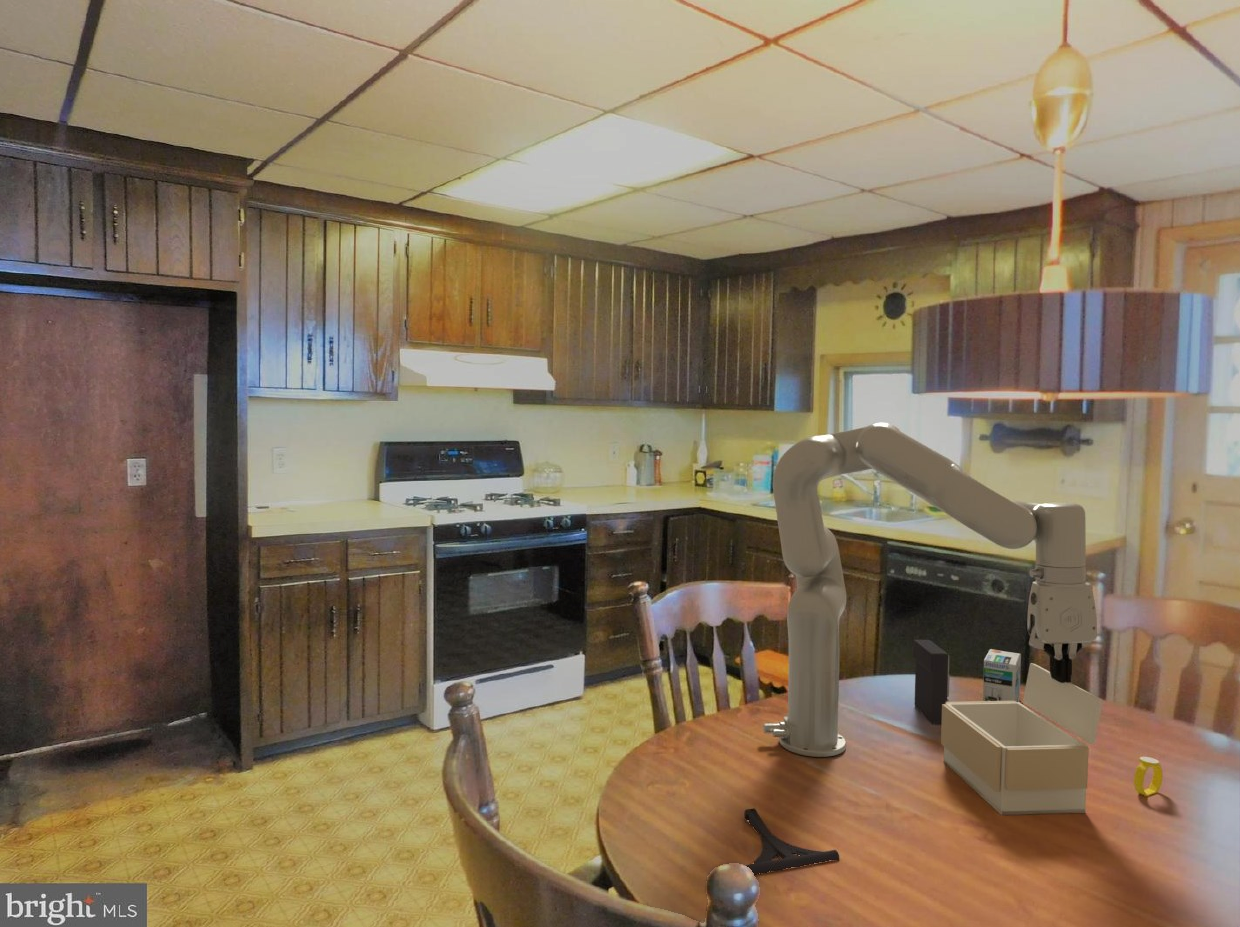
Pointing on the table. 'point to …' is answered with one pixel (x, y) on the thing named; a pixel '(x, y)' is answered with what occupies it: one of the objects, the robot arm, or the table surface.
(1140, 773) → the watch
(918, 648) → the black rectangular block
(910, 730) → the table surface
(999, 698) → the light bulb box
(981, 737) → the carton
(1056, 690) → the carton flap
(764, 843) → the black squeegee
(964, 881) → the table surface
